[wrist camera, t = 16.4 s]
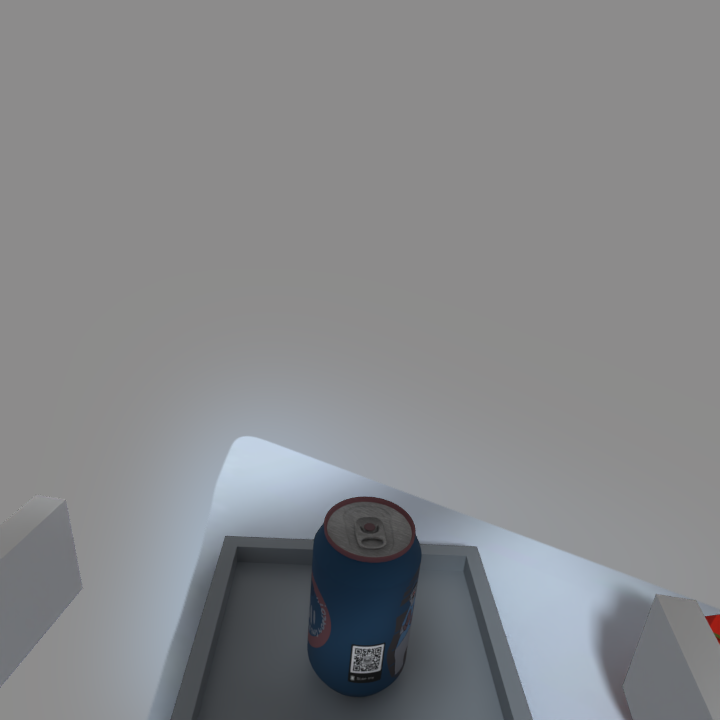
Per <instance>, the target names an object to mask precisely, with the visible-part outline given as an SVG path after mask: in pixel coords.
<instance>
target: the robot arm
mask: <svg viewBox="0 0 720 720" xmlns="http://www.w3.org/2000/svg"><path fill="white" fill-rule="evenodd" d="M81 590H82V582H81V577H80V572H79V566H78V561H77V556H76V550H75V545H74V540H73V535H72V529H71V524H70V519H69V513H68V508H67V503H66V499H59V498H54V497H47V496H40V495H35V496H34V497H33V498H32V499H30V500H29V501H28V502H27V503H26V504H25V505H24V506H22V507H21V508H20V509H19V510H17V511H16V512H15V513H14V514H13V515H12V516H10V517H9V518H8V519H7V520H6V521H4V522H3V523H2V524H1V525H0V687H1V686H2V685H3V684H4V682H5V681H6V680H7V679H8V678H9V676H10V675H11V674H12V673H13V672H14V670H15V669H16V668H17V667H18V666H19V664H20V663H21V662H22V661H23V659H24V658H25V657H26V656H27V655H28V653H29V652H30V651H31V650H32V649H33V647H34V646H35V645H36V644H37V643H38V641H39V640H40V639H41V638H42V637H43V635H44V634H45V633H46V632H47V630H48V629H49V628H50V627H51V626H52V624H53V623H54V622H55V621H56V620H57V619H58V617H59V616H60V615H61V614H62V613H63V611H64V610H65V609H66V608H67V606H68V605H69V604H70V603H71V602H72V600H73V599H74V598H75V597H76V596H77V594H78V593H79V592H80V591H81ZM622 687H623V690H624V693H625V696H626V699H627V703H628V706H629V709H630V712H631V715H632V719H633V720H720V644H719V643H718V641H717V639H716V637H715V635H714V633H713V631H712V629H711V628H710V626H709V624H708V622H707V620H706V618H705V616H704V614H703V613H702V611H701V609H700V607H699V605H698V603H697V601H696V600H690V599H683V598H677V597H671V596H665V595H658V594H656V596H655V599H654V601H653V604H652V607H651V610H650V612H649V615H648V618H647V621H646V623H645V626H644V629H643V632H642V634H641V637H640V640H639V643H638V645H637V648H636V651H635V654H634V656H633V659H632V662H631V664H630V667H629V670H628V673H627V675H626V678H625V681H624V684H623V686H622Z"/></svg>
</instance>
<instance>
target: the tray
mask: <svg viewBox="0 0 720 720" xmlns="http://www.w3.org/2000/svg"><path fill="white" fill-rule="evenodd" d="M313 543H314V540H309V539H285V538H261V537H237V536H225V539H224V542H223V546H222V549H221V552H220V556H219V559H218V562H217V566H216V569H215V572H214V576H213V579H212V583H211V586H210V589H209V593H208V596H207V599H206V603H205V606H204V609H203V613H202V616H201V619H200V623H199V626H198V630H197V633H196V636H195V640H194V643H193V646H192V650H191V653H190V656H189V660H188V663H187V666H186V670H185V673H184V676H183V680H182V683H181V687H180V690H179V693H178V697H177V700H176V703H175V707H174V710H173V713H172V717H171V720H533V719H532V716H531V713H530V710H529V707H528V704H527V700H526V697H525V694H524V691H523V688H522V685H521V682H520V679H519V676H518V673H517V669H516V666H515V663H514V660H513V657H512V654H511V651H510V648H509V645H508V642H507V638H506V635H505V632H504V629H503V626H502V623H501V620H500V617H499V614H498V611H497V607H496V604H495V601H494V598H493V595H492V592H491V589H490V586H489V583H488V580H487V576H486V573H485V570H484V567H483V564H482V561H481V558H480V555H479V552H478V549H477V547H475V546H451V545H427V544H420V547H421V552H422V557H421V564H420V571H419V577H418V584H417V590H416V597H415V603H414V610H413V616H412V623H411V629H410V635H409V642H408V648H407V655H406V661H405V664H404V667H403V669H402V671H401V673H400V675H399V676H398V677H397V679H396V680H395V681H394V682H393V683H392V684H391V685H389V686H388V687H387V688H385V689H384V690H382V691H380V692H378V693H376V694H374V695H371V696H368V697H362V698H353V697H347V696H344V695H341V694H339V693H337V692H335V691H334V690H332V689H331V688H330V687H328V686H327V685H326V684H325V683H324V682H323V681H322V680H321V679H320V678H319V677H318V676H317V674H316V673H315V671H314V670H313V668H312V666H311V663H310V661H309V657H308V651H307V643H308V626H309V609H310V592H311V575H312V558H313Z"/></svg>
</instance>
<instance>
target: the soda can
mask: <svg viewBox="0 0 720 720" xmlns="http://www.w3.org/2000/svg"><path fill="white" fill-rule="evenodd" d="M421 557H422V552H421V547H420V543H419V541H418V539H417V536H416V534H415V525H414V522H413V520H412V518H411V517H410V516H409V514H408V513H407V512H406V511H405V510H404V509H402V508H401V507H399V506H398V505H396V504H394V503H392V502H390V501H387V500H384V499H380V498H375V497H355V498H350V499H347V500H344V501H341V502H339V503H338V504H336V505H335V506H333V507H332V508H331V509H330V510H329V511H328V513H327V515H326V517H325V520H324V523H323V525H322V526H321V527H320V529H319V530H318V532H317V533H316V535H315V538H314V543H313V558H312V575H311V592H310V609H309V626H308V643H307V651H308V657H309V661H310V663H311V666H312V668H313V670H314V671H315V673H316V674H317V676H318V677H319V678H320V679H321V680H322V681H323V682H324V683H325V684H326V685H327V686H328V687H330V688H331V689H332V690H334V691H335V692H337V693H339V694H341V695H344V696H347V697H353V698H362V697H368V696H371V695H374V694H376V693H378V692H380V691H382V690H384V689H385V688H387V687H388V686H389V685H391V684H392V683H393V682H394V681H395V680H396V679H397V677H398V676H399V675H400V673H401V671H402V669H403V667H404V664H405V661H406V655H407V648H408V642H409V635H410V629H411V623H412V616H413V610H414V603H415V597H416V590H417V584H418V577H419V571H420V564H421Z"/></svg>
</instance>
